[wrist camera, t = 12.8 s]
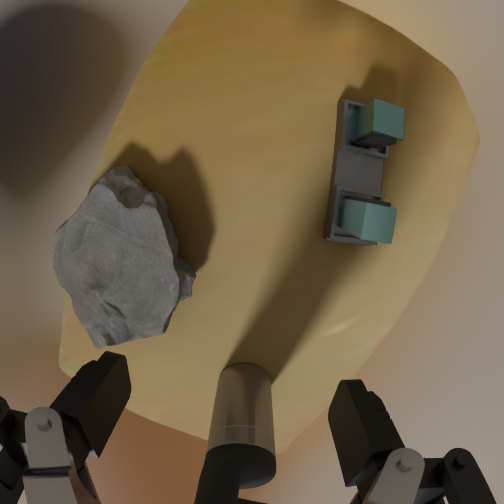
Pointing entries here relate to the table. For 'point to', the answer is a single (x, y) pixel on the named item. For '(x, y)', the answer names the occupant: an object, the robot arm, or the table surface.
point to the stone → (121, 261)
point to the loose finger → (368, 219)
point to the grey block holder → (360, 158)
